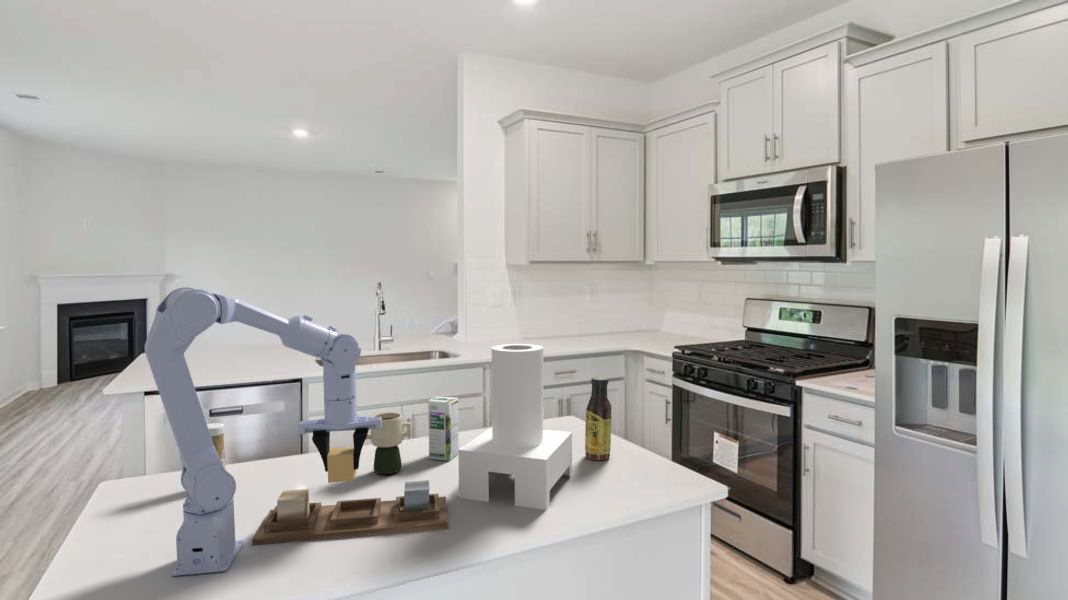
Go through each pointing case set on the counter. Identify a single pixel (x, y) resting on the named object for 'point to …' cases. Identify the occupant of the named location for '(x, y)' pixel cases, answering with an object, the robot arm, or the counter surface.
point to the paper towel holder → (516, 433)
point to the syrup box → (443, 428)
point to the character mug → (388, 442)
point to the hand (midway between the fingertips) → (342, 468)
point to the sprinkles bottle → (218, 439)
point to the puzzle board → (352, 516)
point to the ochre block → (341, 464)
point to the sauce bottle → (598, 421)
